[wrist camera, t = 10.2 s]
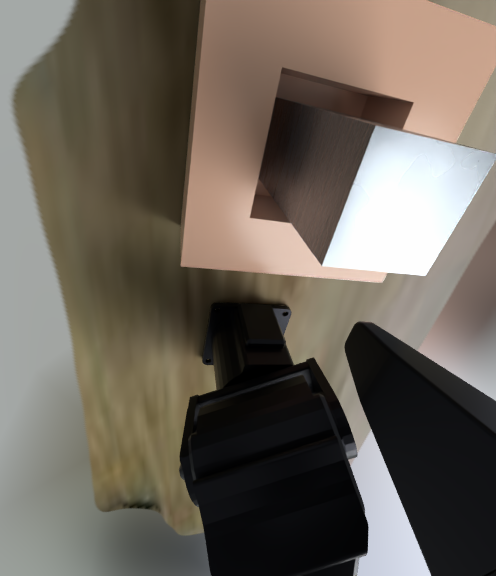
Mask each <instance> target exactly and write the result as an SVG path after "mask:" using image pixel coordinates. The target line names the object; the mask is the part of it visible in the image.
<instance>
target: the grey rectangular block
mask: <svg viewBox="0 0 496 576" xmlns="http://www.w3.org/2000/svg"><path fill="white" fill-rule="evenodd" d="M495 160H496V154H495V153H491V152H487V151H483V150H480V149H476V148H472V147H468V146H465V145H461V144H457V143H453V142H450V141H446V140H442V139H438V138H435V137H431V136H427V135H423V134H419V133H416V132H412V131H408V130H404V129H401V128H397V127H393V126H389V125H386V124H382V123H378V122H374V121H371V120H367V119H363V118H359V117H356V116H352V115H348V114H344V113H340V112H336V111H332V110H328V109H324V108H319V107H315V106H311V105H307V104H303V103H299V102H294V101H290V100H286V99H282V98H278V97H276V98H275V102H274V107H273V112H272V116H271V121H270V126H269V130H268V135H267V140H266V144H265V149H264V154H263V158H262V163H261V168H260V172H259V177H258V178H259V180H260V181H261V182H262V184H263V185H264V187H265V188H266V189H267V191H268V192H269V194H270V195H271V196H272V198H273V199H274V201H275V202H276V203H277V205H278V206H279V207H280V209H281V210H282V212H283V213H284V214H285V216H286V217H287V219H288V220H289V221H290V223H291V224H292V225H293V227H294V228H295V230H296V231H297V232H298V234H299V235H300V237H301V238H302V239H303V241H304V242H305V243H306V245H307V246H308V248H309V249H310V250H311V252H312V253H313V255H314V256H315V257H316V259H317V260H318V261H319V263H320V264H321V266H327V267H337V268H348V269H359V270H369V271H380V272H391V273H402V274H412V275H423V276H426V274H427V272H428V271H429V269H430V267H431V266H432V264H433V263H434V261H435V259H436V258H437V256H438V254H439V253H440V251H441V249H442V248H443V246H444V244H445V243H446V241H447V239H448V238H449V236H450V235H451V233H452V231H453V230H454V228H455V226H456V225H457V223H458V221H459V220H460V218H461V216H462V215H463V213H464V211H465V210H466V208H467V207H468V205H469V203H470V202H471V200H472V198H473V197H474V195H475V193H476V192H477V190H478V188H479V187H480V185H481V183H482V182H483V180H484V179H485V177H486V175H487V174H488V172H489V170H490V169H491V167H492V165H493V164H494V162H495Z"/></svg>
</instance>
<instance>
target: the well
mask: <svg viewBox="0 0 496 576" xmlns="http://www.w3.org/2000/svg"><path fill="white" fill-rule="evenodd" d="M495 67H496V26H494V25H491V24H488V23H486V22H483V21H481V20H478V19H475V18H473V17H470V16H467V15H465V14H462V13H459V12H457V11H454V10H451V9H449V8H446V7H443V6H441V5H438V4H435V3H433V2H430V1H427V0H200V11H199V23H198V34H197V45H196V57H195V68H194V80H193V91H192V102H191V114H190V125H189V137H188V148H187V160H186V171H185V182H184V194H183V205H182V217H181V266H182V267H194V268H207V269H219V270H231V271H244V272H256V273H268V274H281V275H293V276H305V277H317V278H330V279H342V280H354V281H367V282H379V283H382V282H383V280H384V279H385V277H386V275H387V273H388V272H380V271H369V270H359V269H348V268H337V267H327V266H321V264H320V263H319V261H318V260H317V259H316V257H315V256H314V255H313V253H312V252H311V250H310V249H309V248H308V246H307V245H306V243H305V242H304V241H303V239H302V238H301V237H300V235H299V234H298V232H297V231H296V230H295V228H294V227H293V225H292V224H291V223H290V221H289V220H288V219H287V217H286V216H285V214H284V213H283V212H282V210H281V209H280V207H279V206H278V205H277V203H276V202H275V201H274V199H273V198H272V196H271V195H270V194H269V192H268V191H267V189H266V188H265V187H264V185H263V184H262V182H261V181H260V180H259V178H258V177H259V172H260V168H261V163H262V158H263V154H264V149H265V144H266V140H267V135H268V130H269V126H270V121H271V116H272V112H273V107H274V102H275V98H276V97H278V98H282V99H286V100H290V101H294V102H299V103H303V104H307V105H311V106H315V107H319V108H324V109H328V110H332V111H336V112H340V113H344V114H348V115H352V116H356V117H359V118H363V119H367V120H371V121H374V122H378V123H382V124H386V125H389V126H393V127H397V128H401V129H404V130H408V131H412V132H416V133H419V134H423V135H427V136H431V137H435V138H438V139H442V140H446V141H450V142H453V143H456V141H457V139H458V137H459V135H460V133H461V132H462V130H463V128H464V126H465V124H466V122H467V120H468V118H469V116H470V114H471V112H472V111H473V109H474V107H475V105H476V103H477V101H478V99H479V97H480V95H481V93H482V91H483V90H484V88H485V86H486V84H487V82H488V80H489V78H490V76H491V74H492V72H493V70H494V69H495Z"/></svg>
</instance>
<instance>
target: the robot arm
mask: <svg viewBox="0 0 496 576" xmlns="http://www.w3.org/2000/svg"><path fill="white" fill-rule="evenodd" d="M216 308H220V309H219V310H215V309H216ZM283 312H286V313H283ZM290 316H291V310H290V308H289V307H288V306H277V305H262V304H244V303H241V304H239V303H220V302H217V303H214V304H212V305H211V309H210V314H209V320H208V326H207V332H206V338H205V344H204V350H203V355H202V362H203V364H205V365H214V371H215V380H216V389H217V390H215V391H212V392H209V393H206V394H203V395H200V396H199V395H195V396H192V397H190V400H189V406H188V409H187V414H186V420H185V426H184V432H183V438H182V445H181V451H180V463H181V465H180V468H179V471H180V476H181V478H182V479H184V480H185V483H186V487H187V490H188V493H189V496H190V498H191V500H192V502H193V503H194V504H195V506H197V507H199V509H200V513H201V518H202V522H203V527H204V533H205V539H206V546H207V553H208V560H209V567H210V572H211V575H212V576H357V572H358V564H359V558H360V557H362V556H366V555H367V551H368V522H367V520H366V517H365V508H364V504H363V501H362V498H361V495H360V492H359V490H358V487H357V484H356V481H355V478H354V475H353V472H352V469H351V467H350V464H349V461H348V459H352V458H355V457H357V448H356V444H355V441H354V438H353V435H352V432H351V429H350V426H349V423H348V421H347V418H346V416H345V414H344V411H343V409H342V407H341V405H340V402H339V400H338V398H337V397H336V395H335V393H334V391H333V389H332V388H331V386H330V384H329V383H328V381H327V379H326V377H325V376H324V374H323V372H322V371H321V369H320V367H319V365H318V364H317V362H316V360H315V359H314V357H313V358H310V359H307V360H306V362H303V363H299V364H296V365H294V364H293V361H292V359H291V356H290V353H289V351H288V348H287V346H286V341H285V338H284V333H285V330H286V327H287V324H288V322H289V319H290ZM345 353H346V356H347V360H348V363H349V366H350V370H351V373H352V376H353V380H354V383H355V386H356V390H357V393H358V396H359V399H360V402H361V405H362V407H363V410H364V412H365V415H366V417H367V420H368V422H369V424H370V427H371V429H372V432H373V434H374V437H375V439H376V442H377V444H378V446H379V449H380V451H381V454H382V456H383V459H384V461H385V463H386V466H387V468H388V471H389V473H390V476H391V478H392V480H393V483H394V485H395V488H396V490H397V493H398V495H399V497H400V500H401V503H402V505H403V507H404V510H405V512H406V515H407V517H408V519H409V522H410V525H411V527H412V529H413V532H414V534H415V537H416V539H417V541H418V544H419V546H420V549H421V551H422V554H423V556H424V558H425V561H426V563H427V566H428V568H429V571H430V573H431V576H496V401H495V400H493V399H492V398H490V397H488V396H487V395H485V394H484V393H482V392H481V391H479V390H478V389H476V388H474V387H473V386H471V385H470V384H468V383H467V382H465V381H463V380H462V379H460V378H459V377H457V376H456V375H454V374H452V373H451V372H449V371H448V370H446V369H445V368H443V367H441V366H440V365H438V364H437V363H435V362H434V361H432V360H430V359H429V358H427V357H426V356H424V355H423V354H421V353H419V352H418V351H416V350H415V349H413V348H412V347H410V346H408V345H407V344H405V343H404V342H402V341H401V340H399V339H397V338H396V337H394V336H393V335H391V334H390V333H388V332H386V331H385V330H383V329H382V328H380V327H379V326H377V325H375V324H374V323H372V322H357V323H356V324H355V325H354V326H353V328H352V330H351V332H350V334H349V336H348V338H347V340H346V342H345ZM207 359H208V360H207Z"/></svg>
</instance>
